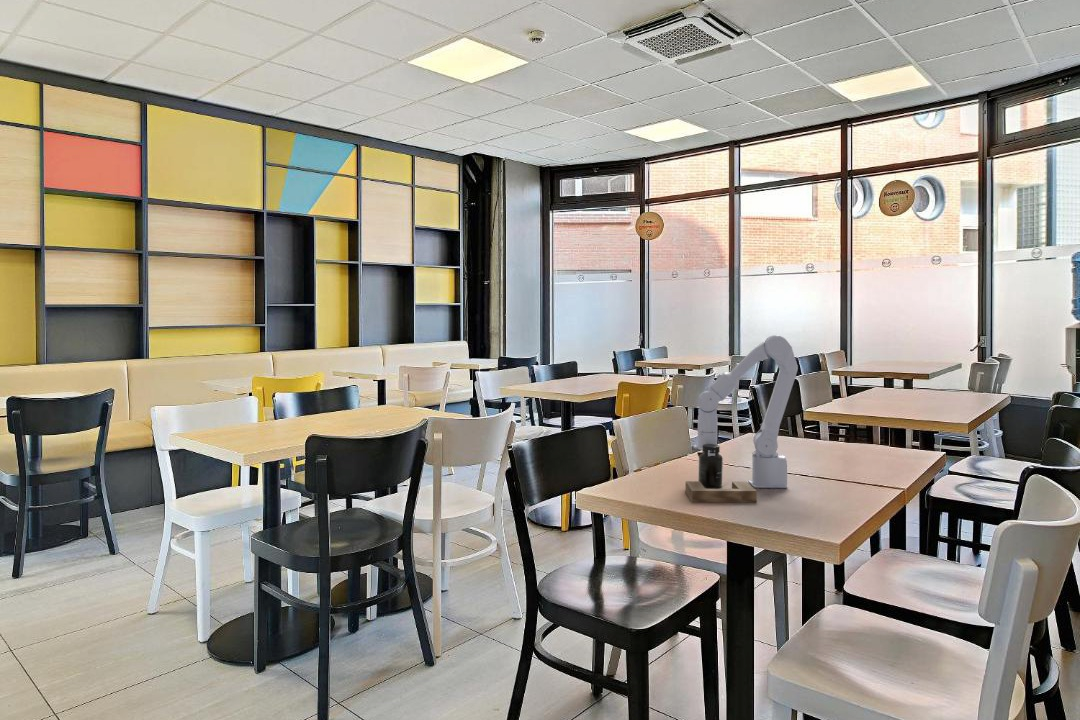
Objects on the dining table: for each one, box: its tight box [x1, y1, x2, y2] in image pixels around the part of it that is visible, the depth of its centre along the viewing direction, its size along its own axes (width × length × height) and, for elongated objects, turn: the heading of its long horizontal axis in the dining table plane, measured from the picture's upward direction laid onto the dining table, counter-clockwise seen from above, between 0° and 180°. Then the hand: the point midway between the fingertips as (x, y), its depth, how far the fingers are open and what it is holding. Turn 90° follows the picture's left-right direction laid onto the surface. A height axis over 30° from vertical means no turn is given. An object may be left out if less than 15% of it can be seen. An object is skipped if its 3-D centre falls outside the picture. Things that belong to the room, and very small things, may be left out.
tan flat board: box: [685, 480, 758, 503], centre depth 192 cm, size 17×12×3 cm
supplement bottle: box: [698, 444, 724, 489], centre depth 204 cm, size 7×7×12 cm
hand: (706, 476), depth 209 cm, fingers closed
